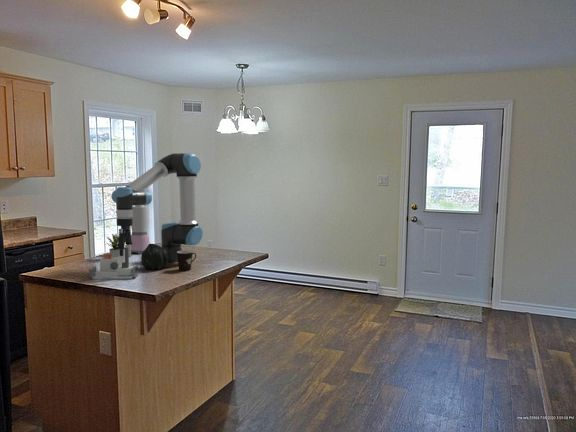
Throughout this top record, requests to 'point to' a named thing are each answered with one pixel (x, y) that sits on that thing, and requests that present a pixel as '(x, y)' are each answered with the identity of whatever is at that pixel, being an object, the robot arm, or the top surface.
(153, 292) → the top surface
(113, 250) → the house plant
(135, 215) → the blender
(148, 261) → the squash
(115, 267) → the gauge cabinet
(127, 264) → the carriage
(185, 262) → the coffee mug
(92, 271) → the rail base
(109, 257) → the button
